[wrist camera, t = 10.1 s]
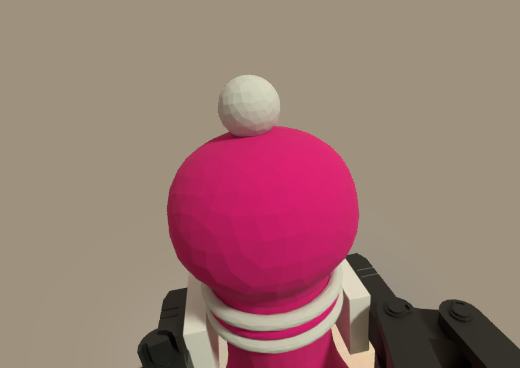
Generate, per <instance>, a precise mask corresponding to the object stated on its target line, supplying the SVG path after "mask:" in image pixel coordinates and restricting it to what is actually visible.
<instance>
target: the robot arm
mask: <svg viewBox="0 0 520 368" xmlns="http://www.w3.org/2000/svg"><path fill="white" fill-rule="evenodd" d="M340 264H341V267H342V270H343V281H342V289H343V305H342V309H341V312H340V314H339V317H338V318H337V320H336V322H335V324H336V326H337V328H338V330H339V332H340V334H341V336H342V339H343V341H344V343H345V345H346V347H347V349H348V351H349V353H350V355H351V354H355V353H359V352H364V351H368V350H369V340H370V342H371V344H372V346H373V347H374V349H375V364H374V368H520V349H519V348H518V347H517V346H516V345H515V344H514V343H513V342H512V341H511V340H510V339H509V338H507V337H506V336H505V335H504V334H503V333H502V332H501V331H500V330H499V329H498V328H497V327H496V326H495V325H494V324H493V323H492V322H490V320H489V319H488V318H487V317H485V316H484V315H483V314H482V313H481V312H480V311H479V310H478V309H477V308H475V307H474V306H472V305H471V304H469V303H467V302H464V301H460V300H446V301H444V302H442V303H441V304H440V306H439V310H430V309H419V308H414V307H413V306H412V305H411V304H410V303H408V302H407V301H406V300H403V299H400V298H398V297H396V296H395V295H394V293H393V292H392V291H391V290H390V288H389V287H388V286H387V285H386V283H385V282H384V281H383V279H382V278H381V277H380V275H379V274H377V272H376V270H375V269H374V268H373V267H372V265H371V264H370V263H369V261H368V260H367V259H366V258H364V257H362V256H361V255H359V254H357V253H355V254H351V255H347V256H346V258H345V259H344V260H343V261H342V262H341V263H340ZM161 311H162V312H161V315H160V320H159V325H158V329H155V330H153V331H152V332H150V333H148V334H147V335H146V336H145V337H144V338H143V339H142V341H141V342H140V344H139V345H138V351H137V353H138V355H139V358H140V360H141V363H142V366H143V367H142V368H219V342H218V333H217V332H216V331H215V330H214V328H213V327H212V325H211V323H210V321H209V319H208V316H207V312H206V303H205V301H204V299H203V296H202V292H201V281H199V280H197V279H196V278H195V277H194V276H193V275H192V274H191V273H190V272H189V278H188V287H187V288H183V289H178V290H172V291H169V293H168V294H167V296H166V297H165V299H164V300H163V304H162V310H161Z"/></svg>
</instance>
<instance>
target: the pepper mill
mask: <svg viewBox="0 0 520 368" xmlns="http://www.w3.org/2000/svg"><path fill="white" fill-rule="evenodd" d="M218 113H219V117H220V119H221V121H222V124H223V125H224V126H225V127H226V128H227V130H228V131H229V132H228V133H226V134H223V135H221V136H219V137H217V138H214V139H212V140H210V141H209V142H207V143H205V144H204V145H202V146H201V147H199V148H198V149H197V150H196V151H194V152H193V153H192V154H191V155H190V156H189V157H187V158H186V160H185V161H184V162H183V164H182V165H181V166H180V168H179V169H178V171H177V173H176V176H175V178H174V180H173V182H172V185H171V187H170V191H169V197H168V204H167V215H168V225H169V234H170V238H171V241H172V243H173V246H174V249H175V251H176V254H177V257H178V259H179V260H180V262H181V263H182V264H183V265H184V267H185V268H186V269H187V270H188V271H189V272H190V273H191V274H192V275H193V276H194V277H195V278H196V279H197V280H199V281H201V292H202V296H203V299H204V301H205V303H206V312H207V316H208V319H209V321H210V323H211V325H212V327H213V328H214V330H215V331H216V332H217V333H218V334H219V335H220V336H221V337H222V338H223V339H224V340H226V341H227V345H228V363H227V366H226V368H349V367H348V366H347V365H346V363H345V362H344V361H343V359H342V358H341V356H340V354H339V353H338V351H337V348H336V346H335V343H334V341H333V336H332V330H331V327H332V326H333V325H334V324H335V322H336V320H337V318H338V317H339V314H340V312H341V309H342V305H343V289H342V281H343V270H342V267H341V264H340V263H341V262H342V261H343V260H344V259H345V258H346V256H347V254H348V252H349V250H350V249H351V247H352V245H353V242H354V239H355V236H356V233H357V229H358V220H359V209H358V199H357V192H356V188H355V184H354V181H353V179H352V176H351V174H350V171H349V169H348V167H347V166H346V164H345V162H344V161H343V159H342V158H341V156H340V155H339V154H338V153H337V152H336V151H335V150H334V149H333V148H332V147H331V146H329V145H328V144H326V143H325V142H323V141H322V140H320V139H318V138H316V137H315V136H313V135H311V134H309V133H306V132H303V131H300V130H297V129H292V128H287V127H277V126H274V125H275V124H276V122H277V120H278V117H279V114H280V100H279V97H278V94H277V92H276V91H275V89H274V88H273V86H272V85H271V84H270V83H268V82H267V81H266V80H265V79H263V78H260V77H258V76H254V75H243V76H239V77H237V78H234V79H233V80H232V81H230V82H229V83H228V84H227V85H226V86H225V87H224V89H223V91H222V92H221V94H220V96H219V103H218Z"/></svg>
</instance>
